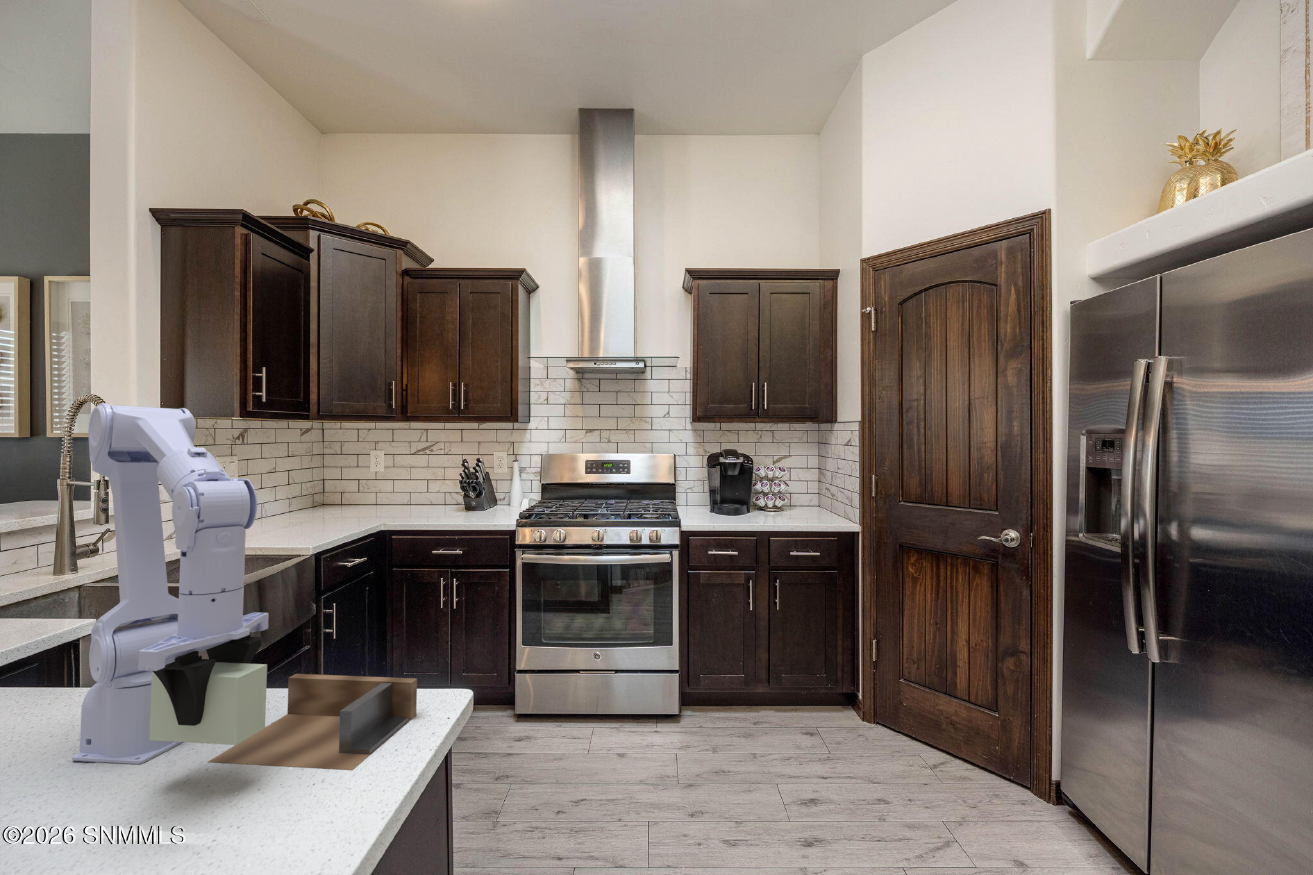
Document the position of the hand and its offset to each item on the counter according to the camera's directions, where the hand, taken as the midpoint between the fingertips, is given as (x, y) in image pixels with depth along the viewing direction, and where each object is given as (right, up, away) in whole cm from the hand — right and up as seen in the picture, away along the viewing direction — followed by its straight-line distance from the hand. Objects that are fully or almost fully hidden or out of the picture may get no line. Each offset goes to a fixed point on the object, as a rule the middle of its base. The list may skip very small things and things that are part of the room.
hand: (207, 714), depth 64 cm
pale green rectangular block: (0, -2, 0) cm, 2 cm away
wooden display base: (+6, -9, +10) cm, 15 cm away
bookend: (+13, -8, +11) cm, 19 cm away
